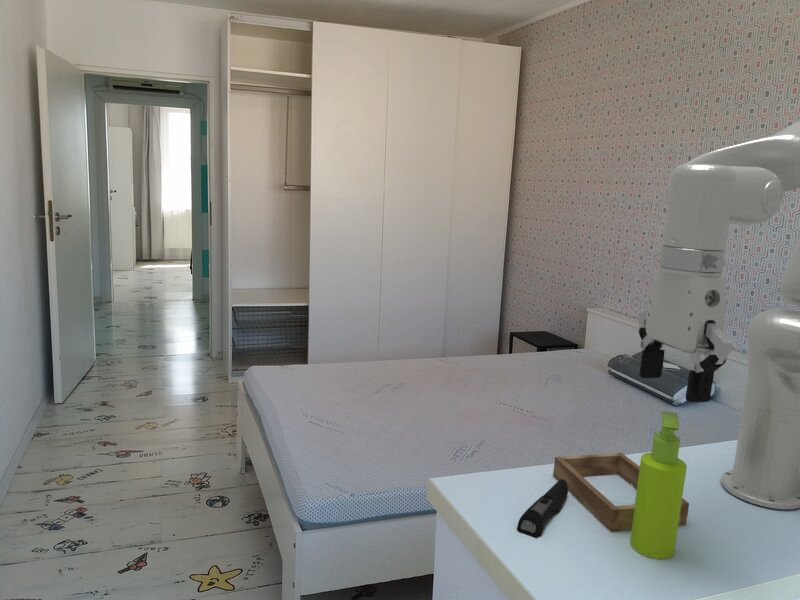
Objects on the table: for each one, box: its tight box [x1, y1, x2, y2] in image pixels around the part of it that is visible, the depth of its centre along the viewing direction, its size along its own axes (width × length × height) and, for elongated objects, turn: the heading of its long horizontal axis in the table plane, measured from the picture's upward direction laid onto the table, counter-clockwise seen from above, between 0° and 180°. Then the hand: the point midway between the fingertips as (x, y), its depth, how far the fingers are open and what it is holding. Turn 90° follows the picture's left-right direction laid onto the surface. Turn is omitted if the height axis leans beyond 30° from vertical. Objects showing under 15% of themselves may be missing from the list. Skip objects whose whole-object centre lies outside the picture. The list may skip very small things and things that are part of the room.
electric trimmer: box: [516, 479, 569, 539], centre depth 98 cm, size 4×16×3 cm, turn 147°
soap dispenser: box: [629, 410, 688, 560], centre depth 88 cm, size 6×7×20 cm
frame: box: [552, 452, 690, 533], centre depth 104 cm, size 13×18×4 cm
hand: (672, 388), depth 85 cm, fingers open, 9 cm apart
